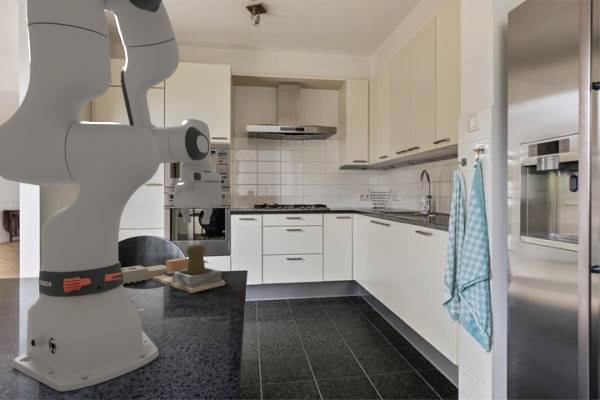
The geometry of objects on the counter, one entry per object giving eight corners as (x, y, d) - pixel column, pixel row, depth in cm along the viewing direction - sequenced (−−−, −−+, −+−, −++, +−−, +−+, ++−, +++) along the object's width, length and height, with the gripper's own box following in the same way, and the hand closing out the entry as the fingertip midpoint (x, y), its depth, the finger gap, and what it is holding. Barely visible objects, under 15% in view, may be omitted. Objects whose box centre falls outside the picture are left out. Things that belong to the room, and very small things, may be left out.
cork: (186, 285, 96) (185, 246, 96) (184, 280, 101) (184, 243, 101) (208, 282, 98) (207, 245, 98) (205, 278, 104) (204, 242, 104)
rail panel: (225, 284, 100) (224, 271, 100) (191, 292, 92) (191, 278, 92) (184, 274, 114) (184, 262, 114) (153, 280, 106) (152, 267, 106)
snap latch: (188, 268, 108) (188, 258, 108) (171, 271, 103) (171, 261, 103) (183, 266, 110) (183, 257, 110) (166, 270, 106) (165, 260, 106)
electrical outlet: (170, 264, 112) (110, 273, 99) (171, 277, 112) (111, 287, 99) (162, 262, 117) (103, 270, 104) (162, 273, 117) (104, 283, 104)
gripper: (167, 178, 104) (168, 223, 104) (206, 173, 91) (207, 225, 90) (186, 179, 109) (186, 222, 108) (225, 175, 95) (226, 224, 95)
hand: (196, 223), depth 99 cm, fingers open, 8 cm apart
